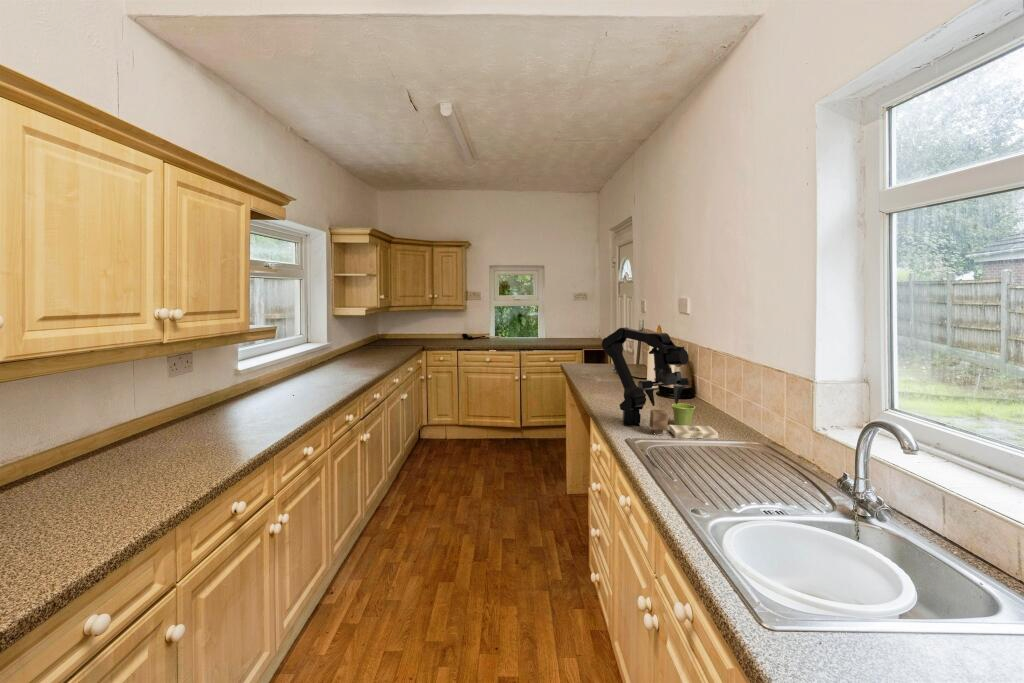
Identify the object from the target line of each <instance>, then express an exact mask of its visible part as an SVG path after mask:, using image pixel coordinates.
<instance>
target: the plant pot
mask: <svg viewBox="0 0 1024 683" xmlns="http://www.w3.org/2000/svg"><path fill="white" fill-rule="evenodd" d="M671 408H672V410H673V421H674V422H673V423H674V424H673V425H686V426H691V423H692V420H693V419H692V418H693V414H694V411H695V409H696V406H695V405H692V404H689V403H679V402H678V404H675V403H672V404H671Z"/></svg>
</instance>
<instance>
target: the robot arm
mask: <svg viewBox="0 0 1024 683" xmlns="http://www.w3.org/2000/svg"><path fill="white" fill-rule="evenodd" d="M627 339H630V340H634V341H636V342H637V341H638V342H642V343H645V344H646V345H648V346H649V347H650V348H651V350H650V351H649V352H648V355H653V361H654V362H653V363H654V367H653V371H654V376H655V377H654V380H653V381H652V380H649V379H645V380H644V379H643V380H642V379H641V380H638V382H637V384H636V382H635V381H634V378H633V376H632V373H631V371H630V369H629V366H628V363H627V362H626V360H625V357H624V354H623V352H624V345H623V344H624V343H626V341H627ZM601 347H602V350H603V351H604V353H605V354H606V355H607V356H608V357H610V359H611V360H612V363H613V365H614V368H615V370H616V373H617V375H618V377H619V380H620V383H621V384H622V387H623V398H624V400H623V401H622V402H621V403H620V404H619V410H620V411H622V420H621V422H622V425H623V426H627V427H640V426H641V425H640V424H641V418H642V417H641V413H640V410H643V408H644V406H645V405H646V402H647V397H648V399H649V401H650V403H651V405H652V407H655V406H656V405H655V396H654V395H655V394H654V391H655V390H654V388H653V387H657V386H658V387H659V386H666V387H667V386H673V397H674V404H678V403H679V401H680V396H681V394H682V391H683V389H684V388H687V386H690V379H689V378H688V377H684V376H683V377H682V373H681V371H679V370H678V371H674V372H673V370H672V367H671V366H679V365H680V366H681V365H683V366H685V365H687V364H688V362H689V354H688V352H687V350H686V349H685V346H676V345H675V343H674V342H673V340H672V339H671V337H670V335H669V333H666V332H649V331H648V332H647V331H643V330H637V329H633V328H629V327H626V326H625V327H619V328H617V330H616V331H614V332H612V333H611V334H609V335H608V336H606V337H604V338H603V339H602V342H601ZM646 396H647V397H646Z"/></svg>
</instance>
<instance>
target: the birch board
mask: <svg viewBox="0 0 1024 683" xmlns="http://www.w3.org/2000/svg"><path fill="white" fill-rule="evenodd" d="M668 426H669V428H668V432H671V433H672V434H673V435H674V436H675V437H674V436H673V435H672V434H671V433H670V434H671V435H672V436H673V437H674V439H682V438H684V437H685V438H690V437H694V438H718V439H719V433H718V431H716V430H715V429H714V428H712V427H711V425H710V426H708V425H707V426H704V425H690V426H686V425H674V424H669V425H668Z"/></svg>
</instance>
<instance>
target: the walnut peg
mask: <svg viewBox="0 0 1024 683" xmlns="http://www.w3.org/2000/svg"><path fill="white" fill-rule="evenodd" d="M668 419H669V413H668V412H667V411H666V410H665V409H650V417H649V427H650V428H651V430H652V431H653V432H654V433H655V434H663V435H664V431H667V430H668V423H669V420H668ZM653 432H652V433H653ZM654 433H653V434H654ZM655 434H654V435H655Z"/></svg>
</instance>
